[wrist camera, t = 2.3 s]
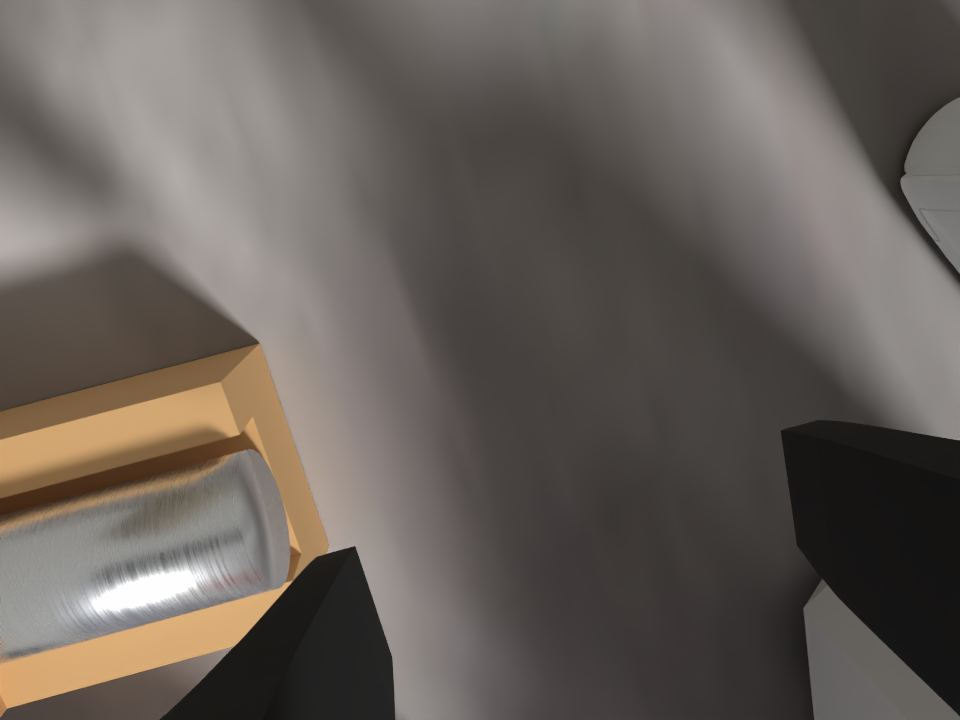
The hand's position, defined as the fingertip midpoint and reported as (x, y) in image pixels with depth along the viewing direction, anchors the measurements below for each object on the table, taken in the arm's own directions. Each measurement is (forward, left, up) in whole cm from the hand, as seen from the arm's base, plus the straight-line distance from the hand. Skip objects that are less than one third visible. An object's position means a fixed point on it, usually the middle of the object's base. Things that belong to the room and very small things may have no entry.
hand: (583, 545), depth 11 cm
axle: (+11, 0, -6) cm, 12 cm away
